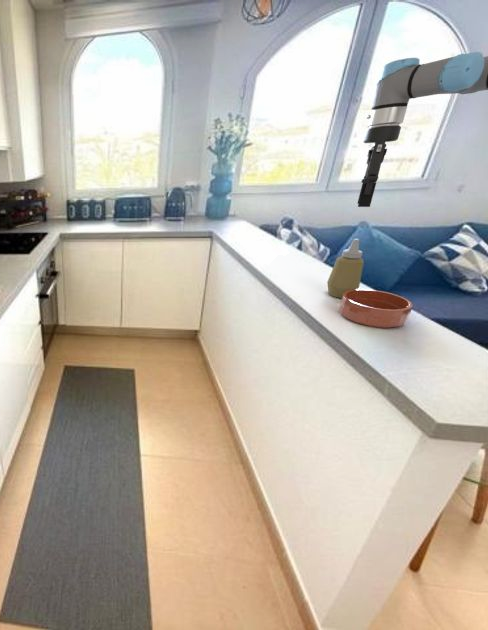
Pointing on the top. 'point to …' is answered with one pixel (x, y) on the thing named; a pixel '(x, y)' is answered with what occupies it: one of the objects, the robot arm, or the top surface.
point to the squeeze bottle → (346, 271)
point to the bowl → (375, 308)
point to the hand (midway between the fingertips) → (363, 205)
